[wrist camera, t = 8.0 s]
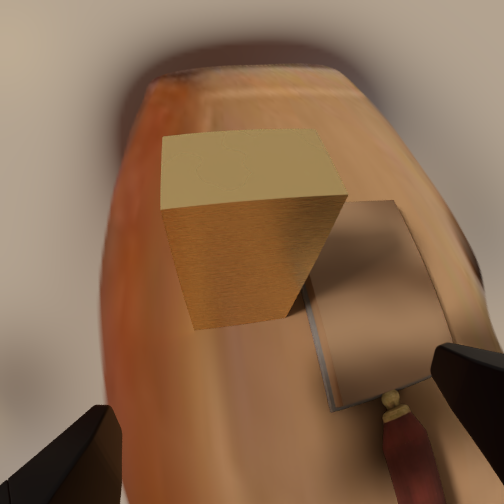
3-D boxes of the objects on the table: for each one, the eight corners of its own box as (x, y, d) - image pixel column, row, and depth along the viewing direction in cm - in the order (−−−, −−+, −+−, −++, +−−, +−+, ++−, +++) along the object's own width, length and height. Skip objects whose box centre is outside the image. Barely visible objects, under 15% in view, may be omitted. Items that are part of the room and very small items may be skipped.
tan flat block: (447, 369, 15) (461, 363, 14) (330, 412, 14) (340, 411, 13) (386, 210, 21) (394, 197, 20) (281, 218, 20) (285, 203, 19)
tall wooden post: (285, 317, 17) (348, 194, 8) (194, 330, 16) (160, 209, 7) (273, 264, 18) (311, 123, 10) (188, 274, 17) (163, 130, 9)
